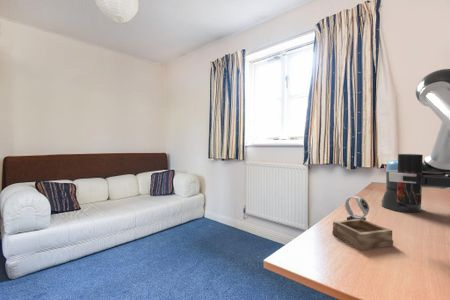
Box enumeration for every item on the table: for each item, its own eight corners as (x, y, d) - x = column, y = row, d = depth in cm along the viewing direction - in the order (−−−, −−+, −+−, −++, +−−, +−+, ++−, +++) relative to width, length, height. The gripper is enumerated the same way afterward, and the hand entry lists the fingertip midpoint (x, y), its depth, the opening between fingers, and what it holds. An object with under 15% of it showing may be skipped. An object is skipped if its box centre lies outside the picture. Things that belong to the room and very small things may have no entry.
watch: (364, 230, 82) (364, 200, 81) (342, 224, 88) (342, 196, 88) (371, 227, 85) (371, 198, 84) (349, 221, 91) (349, 194, 91)
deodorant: (423, 206, 67) (424, 155, 66) (398, 203, 70) (399, 154, 69) (419, 201, 72) (420, 154, 71) (395, 198, 75) (396, 153, 74)
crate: (360, 230, 81) (360, 218, 81) (393, 245, 70) (393, 230, 70) (332, 234, 78) (332, 221, 78) (361, 250, 67) (361, 235, 67)
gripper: (511, 205, 53) (389, 192, 66) (483, 190, 68) (388, 182, 81) (513, 172, 52) (389, 166, 66) (484, 165, 68) (388, 161, 81)
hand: (389, 175), depth 74 cm, fingers closed on deodorant, 6 cm apart
